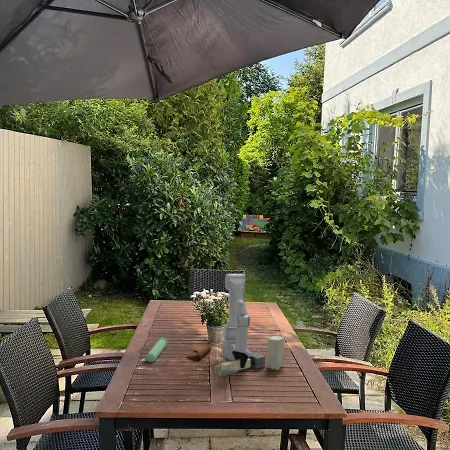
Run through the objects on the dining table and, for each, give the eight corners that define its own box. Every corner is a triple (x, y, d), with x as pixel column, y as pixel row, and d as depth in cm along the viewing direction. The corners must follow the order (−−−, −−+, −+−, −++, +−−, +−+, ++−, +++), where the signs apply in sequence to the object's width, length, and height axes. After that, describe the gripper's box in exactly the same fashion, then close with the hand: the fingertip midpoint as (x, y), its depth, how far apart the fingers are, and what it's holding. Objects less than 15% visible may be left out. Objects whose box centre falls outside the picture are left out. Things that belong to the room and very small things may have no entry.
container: (153, 351, 240) (165, 336, 264) (142, 355, 240) (155, 339, 265) (157, 362, 240) (169, 346, 264) (146, 366, 241) (159, 349, 265)
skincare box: (277, 370, 236) (278, 340, 235) (266, 368, 239) (267, 338, 238) (283, 365, 243) (285, 336, 242) (272, 363, 246) (274, 334, 245)
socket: (247, 364, 243) (248, 354, 243) (255, 362, 246) (256, 352, 246) (256, 368, 237) (257, 358, 237) (264, 366, 241) (265, 356, 240)
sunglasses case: (196, 348, 265) (202, 338, 264) (206, 356, 263) (212, 346, 262) (184, 358, 248) (191, 348, 246) (195, 367, 246) (202, 357, 245)
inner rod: (220, 371, 230) (221, 363, 230) (246, 365, 240) (247, 357, 240) (224, 373, 228) (225, 365, 228) (250, 367, 238) (251, 359, 237)
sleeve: (214, 373, 230) (215, 366, 229) (231, 369, 236) (231, 362, 235) (220, 376, 226) (221, 369, 225) (237, 372, 232) (238, 365, 231)
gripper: (226, 336, 238) (224, 363, 239) (244, 344, 226) (243, 373, 227) (237, 334, 242) (236, 361, 243) (255, 342, 231) (254, 370, 232)
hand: (240, 366), depth 236 cm, fingers closed on inner rod, 3 cm apart
